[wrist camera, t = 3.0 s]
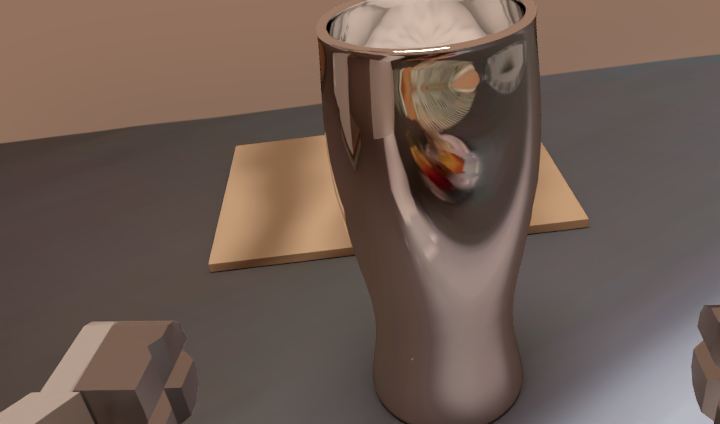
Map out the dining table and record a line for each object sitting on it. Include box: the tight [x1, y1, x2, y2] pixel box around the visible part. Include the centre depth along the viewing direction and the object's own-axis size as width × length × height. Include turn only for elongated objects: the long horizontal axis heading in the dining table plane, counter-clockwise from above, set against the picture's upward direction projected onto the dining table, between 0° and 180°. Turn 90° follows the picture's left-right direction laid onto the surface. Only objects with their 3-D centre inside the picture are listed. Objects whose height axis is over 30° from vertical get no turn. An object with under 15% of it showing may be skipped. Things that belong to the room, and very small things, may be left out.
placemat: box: [208, 135, 589, 272], centre depth 42 cm, size 20×14×1 cm
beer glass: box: [316, 0, 541, 424], centre depth 24 cm, size 7×7×15 cm
